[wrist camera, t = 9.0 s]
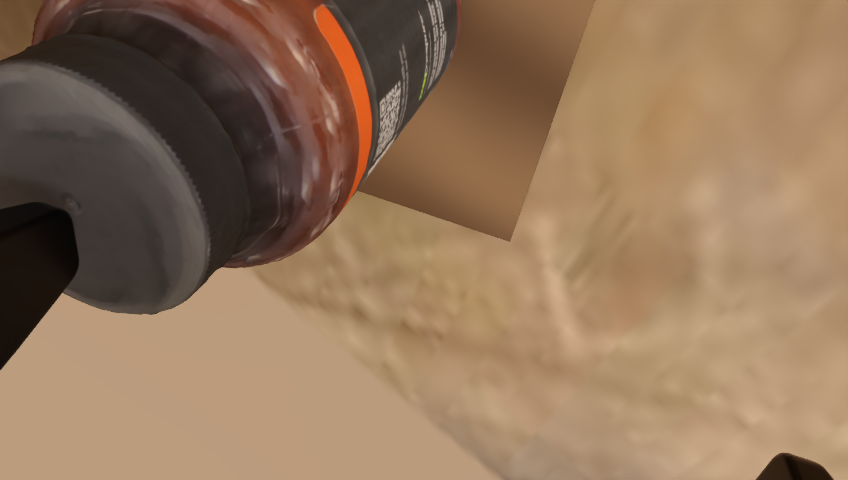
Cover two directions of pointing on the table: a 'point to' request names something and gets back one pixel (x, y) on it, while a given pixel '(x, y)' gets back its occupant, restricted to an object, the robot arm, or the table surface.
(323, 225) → the supplement bottle
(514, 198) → the walnut base
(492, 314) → the table surface
